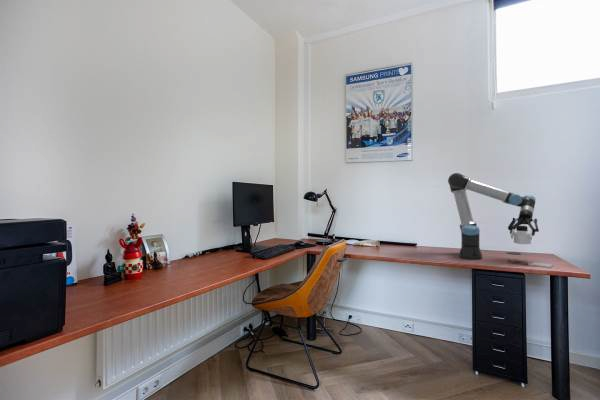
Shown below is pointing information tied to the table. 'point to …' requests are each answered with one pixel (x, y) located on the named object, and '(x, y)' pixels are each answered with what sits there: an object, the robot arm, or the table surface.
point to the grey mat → (542, 265)
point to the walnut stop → (518, 262)
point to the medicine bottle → (522, 235)
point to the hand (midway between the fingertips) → (520, 238)
